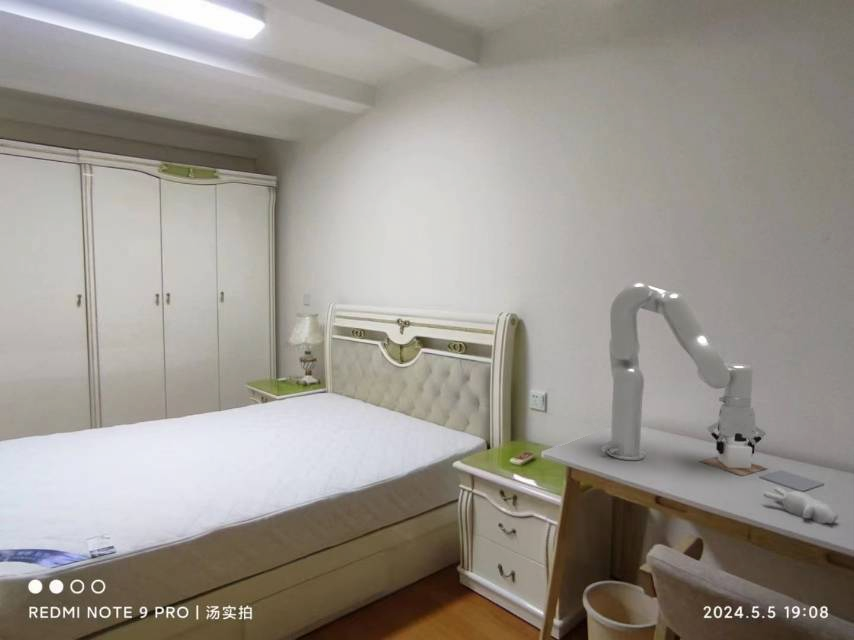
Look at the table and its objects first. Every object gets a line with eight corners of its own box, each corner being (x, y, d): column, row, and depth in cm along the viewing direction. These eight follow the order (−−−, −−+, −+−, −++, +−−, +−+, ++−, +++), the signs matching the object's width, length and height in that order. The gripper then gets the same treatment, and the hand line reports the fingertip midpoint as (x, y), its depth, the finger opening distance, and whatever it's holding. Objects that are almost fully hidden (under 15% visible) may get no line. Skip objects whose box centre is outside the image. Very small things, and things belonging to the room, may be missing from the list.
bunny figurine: (828, 514, 123) (762, 485, 136) (823, 533, 124) (758, 503, 136) (844, 506, 128) (779, 479, 140) (840, 524, 129) (776, 495, 141)
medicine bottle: (740, 461, 169) (742, 426, 168) (751, 469, 162) (753, 432, 161) (717, 460, 170) (719, 425, 169) (727, 468, 163) (730, 431, 162)
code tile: (741, 476, 157) (741, 475, 157) (699, 461, 169) (699, 461, 169) (767, 468, 163) (767, 468, 163) (725, 455, 176) (725, 454, 176)
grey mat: (802, 492, 145) (802, 490, 145) (759, 477, 156) (759, 476, 156) (824, 484, 151) (824, 483, 151) (780, 471, 161) (781, 469, 161)
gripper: (710, 402, 163) (707, 455, 165) (772, 406, 158) (769, 460, 160) (704, 397, 171) (702, 447, 172) (764, 401, 165) (761, 453, 167)
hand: (734, 453), depth 166 cm, fingers closed on medicine bottle, 8 cm apart
